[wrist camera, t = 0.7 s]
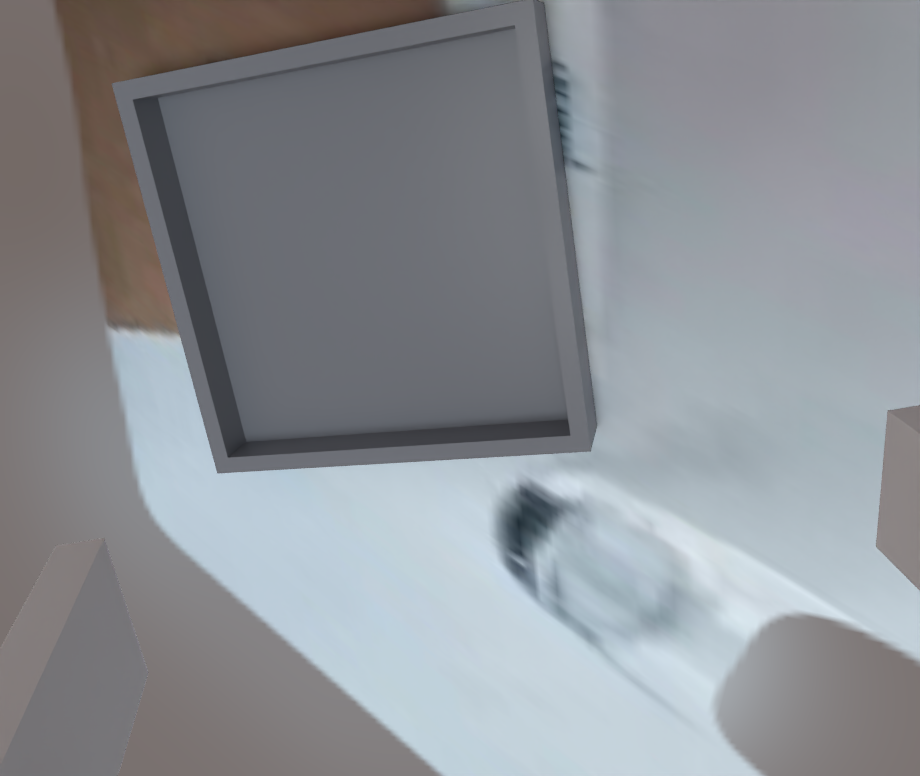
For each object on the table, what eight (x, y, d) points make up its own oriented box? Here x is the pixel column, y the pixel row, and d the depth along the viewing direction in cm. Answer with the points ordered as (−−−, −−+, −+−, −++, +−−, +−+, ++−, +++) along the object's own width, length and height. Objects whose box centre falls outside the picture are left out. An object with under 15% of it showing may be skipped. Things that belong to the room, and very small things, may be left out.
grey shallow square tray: (149, 82, 41) (111, 83, 38) (543, 3, 36) (532, -2, 33) (244, 449, 47) (217, 473, 44) (597, 425, 42) (590, 451, 39)
